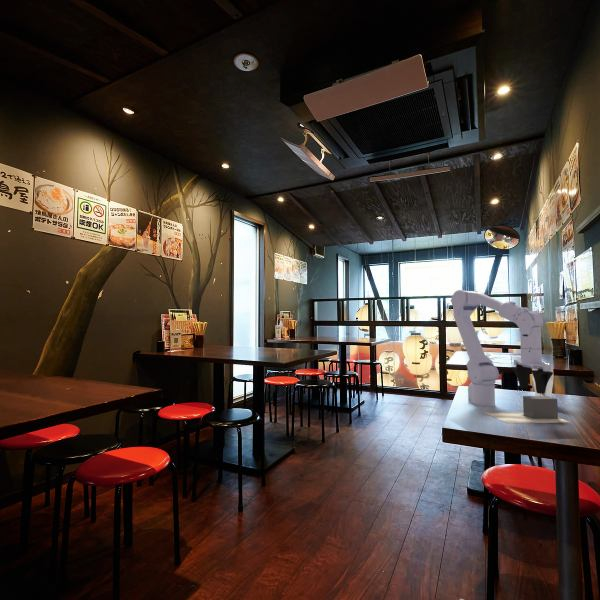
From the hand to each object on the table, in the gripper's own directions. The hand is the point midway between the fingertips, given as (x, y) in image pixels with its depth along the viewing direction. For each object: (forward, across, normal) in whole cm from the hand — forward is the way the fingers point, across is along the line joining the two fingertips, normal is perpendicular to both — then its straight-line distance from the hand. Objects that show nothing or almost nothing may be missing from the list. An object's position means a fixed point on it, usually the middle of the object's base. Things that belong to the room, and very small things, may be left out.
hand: (532, 390), depth 115 cm
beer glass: (+10, -23, +21) cm, 33 cm away
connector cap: (+8, +2, +1) cm, 8 cm away
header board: (+9, +2, -4) cm, 10 cm away
